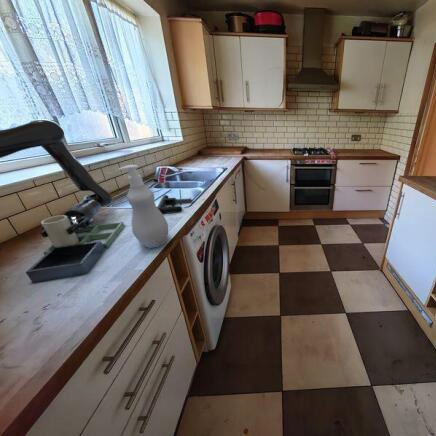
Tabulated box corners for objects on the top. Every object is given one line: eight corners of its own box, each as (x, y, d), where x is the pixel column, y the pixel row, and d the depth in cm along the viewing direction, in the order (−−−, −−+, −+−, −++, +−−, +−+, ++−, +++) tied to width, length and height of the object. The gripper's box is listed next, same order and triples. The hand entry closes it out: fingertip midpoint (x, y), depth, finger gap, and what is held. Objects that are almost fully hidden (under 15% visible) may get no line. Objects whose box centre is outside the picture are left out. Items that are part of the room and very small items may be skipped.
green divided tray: (45, 257, 79) (42, 252, 78) (74, 231, 94) (71, 227, 94) (107, 248, 83) (105, 243, 82) (124, 225, 99) (123, 221, 98)
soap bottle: (136, 236, 91) (110, 163, 78) (168, 228, 97) (148, 159, 84) (139, 257, 78) (108, 174, 65) (175, 246, 84) (153, 168, 71)
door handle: (191, 193, 129) (160, 194, 124) (188, 206, 112) (151, 209, 107) (192, 198, 130) (161, 200, 125) (189, 212, 113) (153, 215, 108)
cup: (51, 252, 80) (36, 224, 75) (62, 242, 85) (48, 216, 81) (74, 249, 82) (60, 222, 77) (83, 239, 87) (71, 214, 82)
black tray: (32, 282, 67) (25, 272, 65) (59, 256, 79) (54, 247, 77) (86, 273, 71) (81, 263, 69) (105, 250, 82) (100, 240, 81)
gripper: (55, 207, 89) (24, 226, 75) (97, 203, 93) (76, 221, 79) (63, 224, 93) (35, 245, 78) (104, 219, 96) (85, 239, 82)
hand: (56, 233), depth 79 cm, fingers closed on cup, 6 cm apart
